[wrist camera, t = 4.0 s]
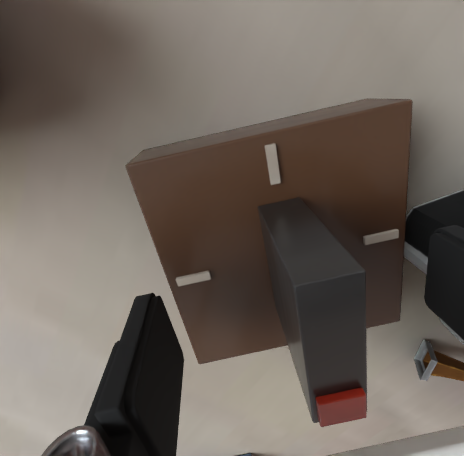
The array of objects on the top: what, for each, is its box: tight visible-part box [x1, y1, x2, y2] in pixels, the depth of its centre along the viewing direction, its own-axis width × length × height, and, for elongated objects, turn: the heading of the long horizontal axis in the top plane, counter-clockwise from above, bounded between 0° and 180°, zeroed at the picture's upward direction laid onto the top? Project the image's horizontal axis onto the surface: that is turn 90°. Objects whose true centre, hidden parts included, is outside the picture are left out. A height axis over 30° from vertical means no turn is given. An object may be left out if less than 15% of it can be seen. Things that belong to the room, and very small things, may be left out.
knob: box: [258, 197, 367, 427], centre depth 9 cm, size 5×2×5 cm, turn 12°
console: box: [126, 99, 412, 364], centre depth 13 cm, size 10×10×3 cm
